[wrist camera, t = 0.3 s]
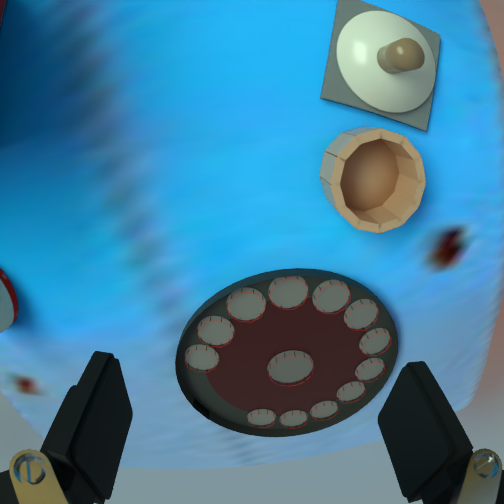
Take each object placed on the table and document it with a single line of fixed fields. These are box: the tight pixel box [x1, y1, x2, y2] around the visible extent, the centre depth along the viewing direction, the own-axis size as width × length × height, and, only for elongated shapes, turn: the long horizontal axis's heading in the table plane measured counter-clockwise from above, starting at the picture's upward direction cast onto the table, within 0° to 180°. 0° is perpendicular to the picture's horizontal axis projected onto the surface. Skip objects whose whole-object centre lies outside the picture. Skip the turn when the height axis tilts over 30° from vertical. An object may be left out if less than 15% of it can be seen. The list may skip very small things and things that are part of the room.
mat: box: [320, 0, 440, 131], centre depth 30 cm, size 14×14×1 cm
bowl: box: [319, 126, 426, 233], centre depth 34 cm, size 11×11×6 cm
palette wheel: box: [175, 269, 398, 437], centre depth 47 cm, size 35×35×3 cm
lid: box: [336, 11, 436, 112], centre depth 27 cm, size 13×13×6 cm
